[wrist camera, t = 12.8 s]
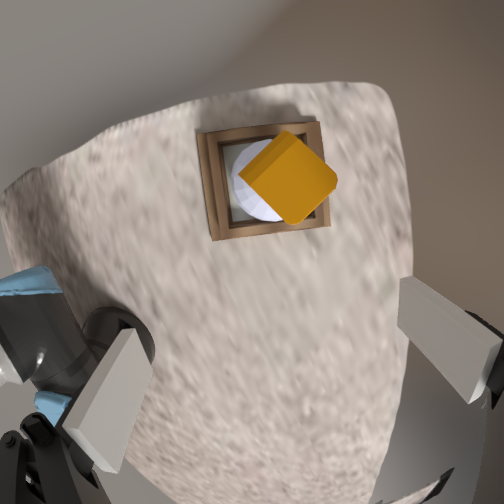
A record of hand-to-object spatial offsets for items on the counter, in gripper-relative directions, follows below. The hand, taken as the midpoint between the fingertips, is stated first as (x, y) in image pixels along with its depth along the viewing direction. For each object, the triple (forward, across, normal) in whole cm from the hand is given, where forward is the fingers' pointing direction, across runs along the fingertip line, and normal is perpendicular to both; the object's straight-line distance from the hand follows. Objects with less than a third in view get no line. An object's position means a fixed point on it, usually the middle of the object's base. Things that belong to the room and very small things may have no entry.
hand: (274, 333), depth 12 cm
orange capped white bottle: (+29, +4, +6) cm, 30 cm away
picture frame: (+30, +4, +6) cm, 31 cm away
